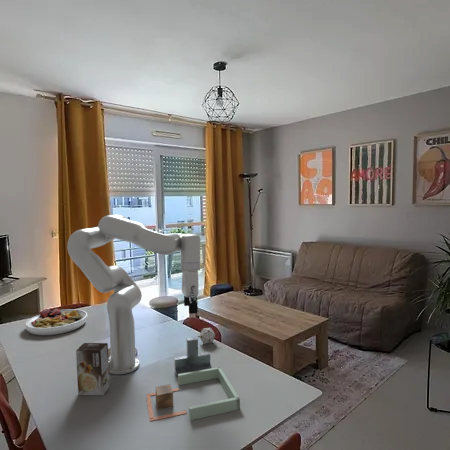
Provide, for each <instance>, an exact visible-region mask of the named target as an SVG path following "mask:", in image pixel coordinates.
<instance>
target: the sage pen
mask: <svg viewBox="0 0 450 450" xmlns="http://www.w3.org/2000/svg"><path fill="white" fill-rule="evenodd" d="M221 367H222V366H217V367H211V368H210V369H205V370H199V371H193V372H187V373H182V374H178V377H177V383H178V386H181V385H186V384H192V383H196V382H197V383H198V382H202V381H208V380H213V379H214V380H215V379H218V381H219V382H220V384H221V385H222V387H223V389H224V391H225V392H226V394H227V396H228V397H229V398H226V399H221V400H216V401H211V402H205V403H202V404H196V405H192V406H188V417H189V418H188V419H189V421H193V420H198V419H202V418H203V419H204V418H207V417H212V416H215V415H221V414H225V413H229V412H234V411H238V410H241V398H240V397H239V394H238V393H237V392H236V390H235V389H234V387H233V385H232V383H231V382H230V381H229V378H228V377H227V376H226V374H225V372H224V371H223V369H222V368H221Z"/></svg>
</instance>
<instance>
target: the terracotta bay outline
mask: <svg viewBox="0 0 450 450" xmlns="http://www.w3.org/2000/svg"><path fill="white" fill-rule="evenodd" d="M172 391H173V393H174V392H180V388H172ZM152 396H156V392H152V393H147V394H146V402H147V408H148V409H147V410H148V418H149V422H153V421H158V420H162V419H168V418H173V417H177V416H181V415H186V414H187V411H186V410H182V411H177V412H172V413H169V414H163V415H159V416H154V412H153V405H152Z"/></svg>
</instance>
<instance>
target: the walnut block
mask: <svg viewBox="0 0 450 450" xmlns="http://www.w3.org/2000/svg"><path fill="white" fill-rule="evenodd" d="M172 389H173V388H172V384H170V383H169V384H164V385H158V386H155V393H156V395H155V403H156V409H157V411H160V410H165V409H170V408H174V392H173V391H172Z"/></svg>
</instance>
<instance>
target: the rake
mask: <svg viewBox="0 0 450 450" xmlns="http://www.w3.org/2000/svg"><path fill="white" fill-rule="evenodd" d="M198 338H199V337H198V336H193V337H187V338H186V355H182V356H176V357H174V374H175V377H176V378H178V374H182V373H187V372H193V371H199V370H205V369H210V368H212V364H211V353H210V351H209V352H207V351H206V352H201V353H199V339H198Z"/></svg>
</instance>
